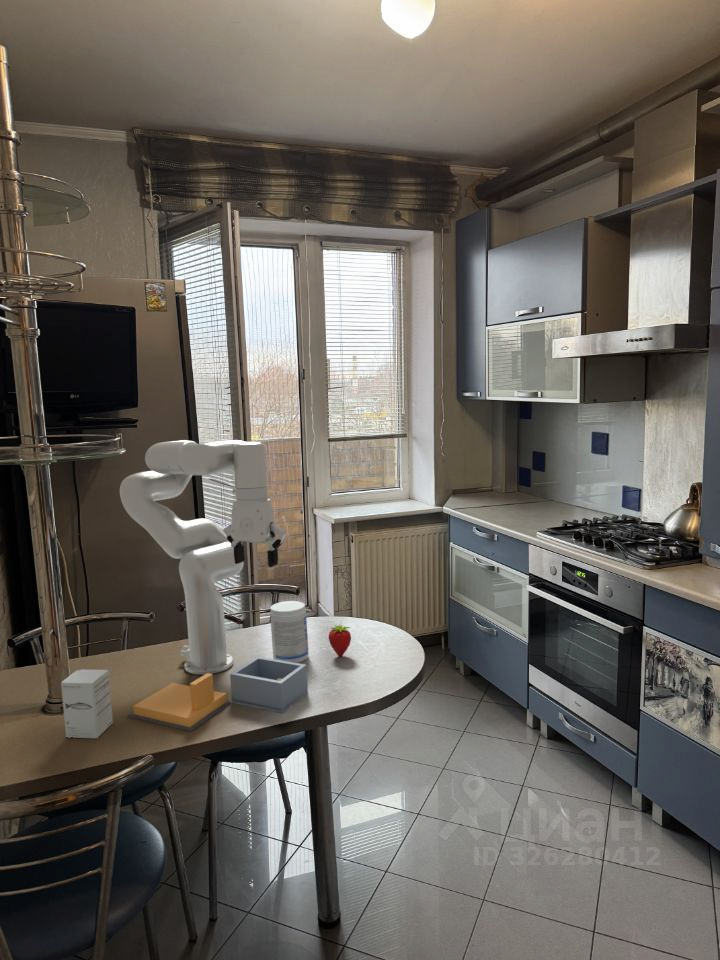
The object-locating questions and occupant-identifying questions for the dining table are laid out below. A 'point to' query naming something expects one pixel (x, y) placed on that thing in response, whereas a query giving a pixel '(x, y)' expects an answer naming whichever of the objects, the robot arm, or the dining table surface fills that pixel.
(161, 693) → the lid
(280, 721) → the dining table surface
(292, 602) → the supplement tub
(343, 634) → the strawberry
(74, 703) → the supplement box
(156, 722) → the mat
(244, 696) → the parts tub
